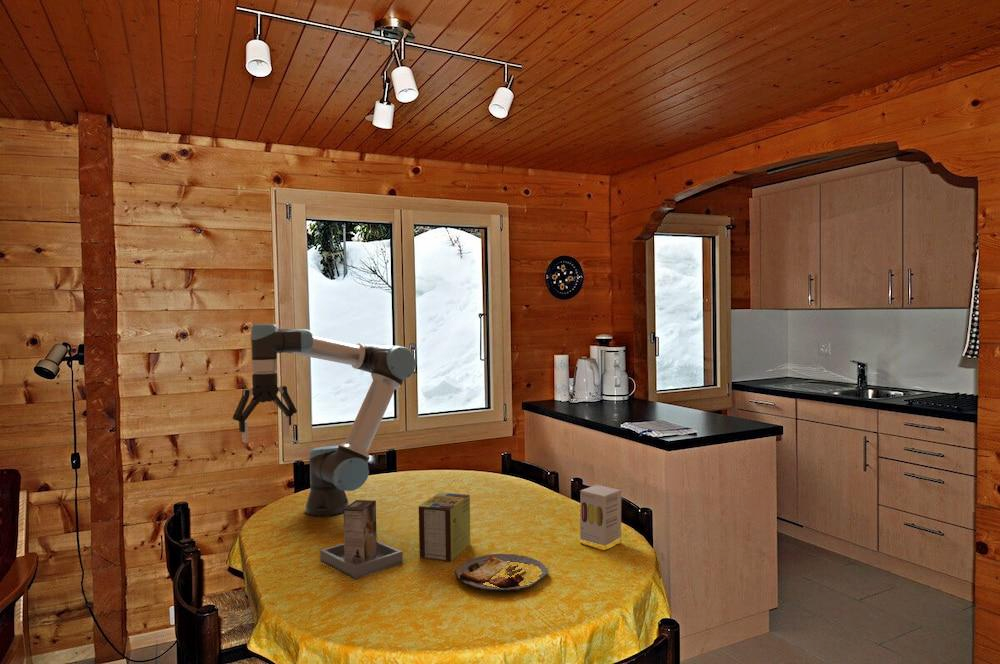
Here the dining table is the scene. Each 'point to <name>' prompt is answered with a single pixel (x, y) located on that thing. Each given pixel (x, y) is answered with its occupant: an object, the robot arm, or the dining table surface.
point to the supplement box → (600, 514)
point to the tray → (379, 562)
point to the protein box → (444, 526)
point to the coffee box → (360, 531)
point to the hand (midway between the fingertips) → (266, 439)
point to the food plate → (495, 571)
